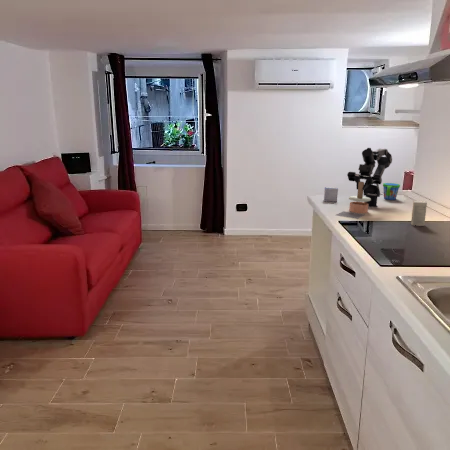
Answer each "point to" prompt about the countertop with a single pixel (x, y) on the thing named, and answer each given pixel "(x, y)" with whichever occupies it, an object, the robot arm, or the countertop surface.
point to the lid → (360, 194)
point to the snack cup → (390, 190)
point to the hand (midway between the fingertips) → (359, 189)
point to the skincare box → (418, 213)
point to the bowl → (358, 207)
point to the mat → (350, 215)
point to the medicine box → (330, 194)
